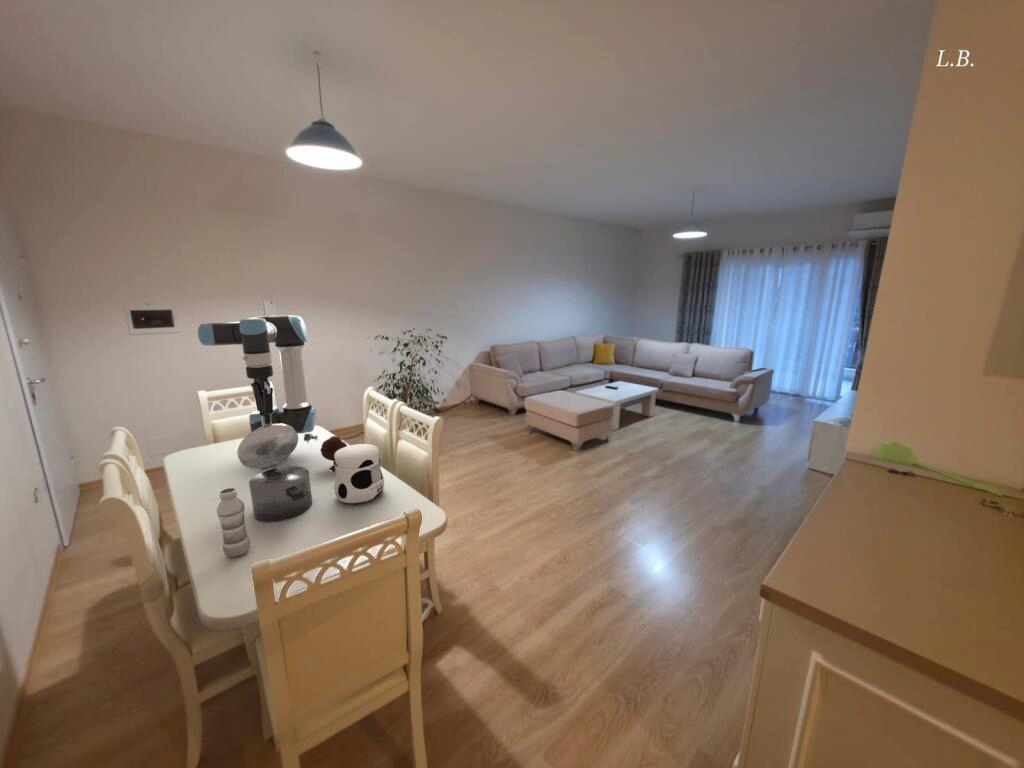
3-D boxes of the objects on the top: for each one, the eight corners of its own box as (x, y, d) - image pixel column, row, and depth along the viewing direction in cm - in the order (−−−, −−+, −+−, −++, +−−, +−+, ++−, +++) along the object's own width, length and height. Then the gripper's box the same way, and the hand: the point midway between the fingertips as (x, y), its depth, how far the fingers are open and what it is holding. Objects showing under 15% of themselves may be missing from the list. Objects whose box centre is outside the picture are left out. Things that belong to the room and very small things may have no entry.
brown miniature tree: (354, 463, 179) (351, 431, 176) (341, 474, 169) (337, 440, 165) (331, 462, 180) (328, 431, 177) (317, 473, 170) (313, 440, 166)
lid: (238, 477, 139) (234, 470, 141) (295, 460, 153) (291, 453, 155) (239, 434, 129) (234, 426, 131) (300, 420, 144) (295, 413, 145)
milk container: (335, 490, 155) (331, 446, 151) (382, 482, 162) (379, 440, 158) (335, 512, 139) (330, 464, 135) (387, 502, 146) (384, 456, 142)
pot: (246, 509, 141) (241, 478, 139) (299, 490, 155) (295, 461, 152) (272, 535, 126) (267, 500, 124) (329, 512, 140) (325, 480, 137)
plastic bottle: (232, 547, 120) (221, 486, 116) (256, 546, 121) (246, 485, 116) (219, 561, 114) (207, 497, 110) (244, 560, 115) (233, 496, 110)
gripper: (239, 364, 135) (249, 430, 141) (252, 369, 127) (262, 439, 133) (264, 361, 141) (272, 425, 146) (278, 366, 133) (287, 433, 138)
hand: (268, 432), depth 139 cm, fingers closed
